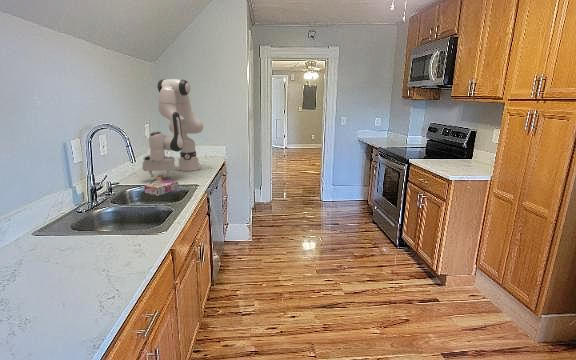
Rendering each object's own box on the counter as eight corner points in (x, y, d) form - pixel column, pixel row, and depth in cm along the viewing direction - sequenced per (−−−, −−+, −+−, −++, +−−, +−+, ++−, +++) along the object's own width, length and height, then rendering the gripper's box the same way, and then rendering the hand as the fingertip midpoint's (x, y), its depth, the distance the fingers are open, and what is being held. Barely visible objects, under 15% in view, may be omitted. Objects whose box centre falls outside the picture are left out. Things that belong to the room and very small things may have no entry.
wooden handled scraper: (157, 178, 229) (156, 174, 229) (166, 178, 230) (165, 174, 229) (151, 185, 213) (151, 180, 212) (161, 184, 214) (160, 180, 213)
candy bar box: (178, 181, 205) (157, 188, 191) (179, 189, 206) (158, 196, 192) (165, 179, 210) (143, 185, 196) (166, 186, 211) (144, 193, 197)
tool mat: (156, 178, 233) (156, 177, 233) (170, 177, 235) (170, 176, 234) (147, 187, 210) (146, 186, 210) (163, 186, 212) (163, 185, 211)
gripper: (174, 155, 224) (176, 175, 228) (143, 156, 222) (145, 176, 225) (173, 157, 218) (174, 177, 222) (140, 158, 216) (143, 178, 219)
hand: (159, 176), depth 224 cm, fingers open, 8 cm apart
